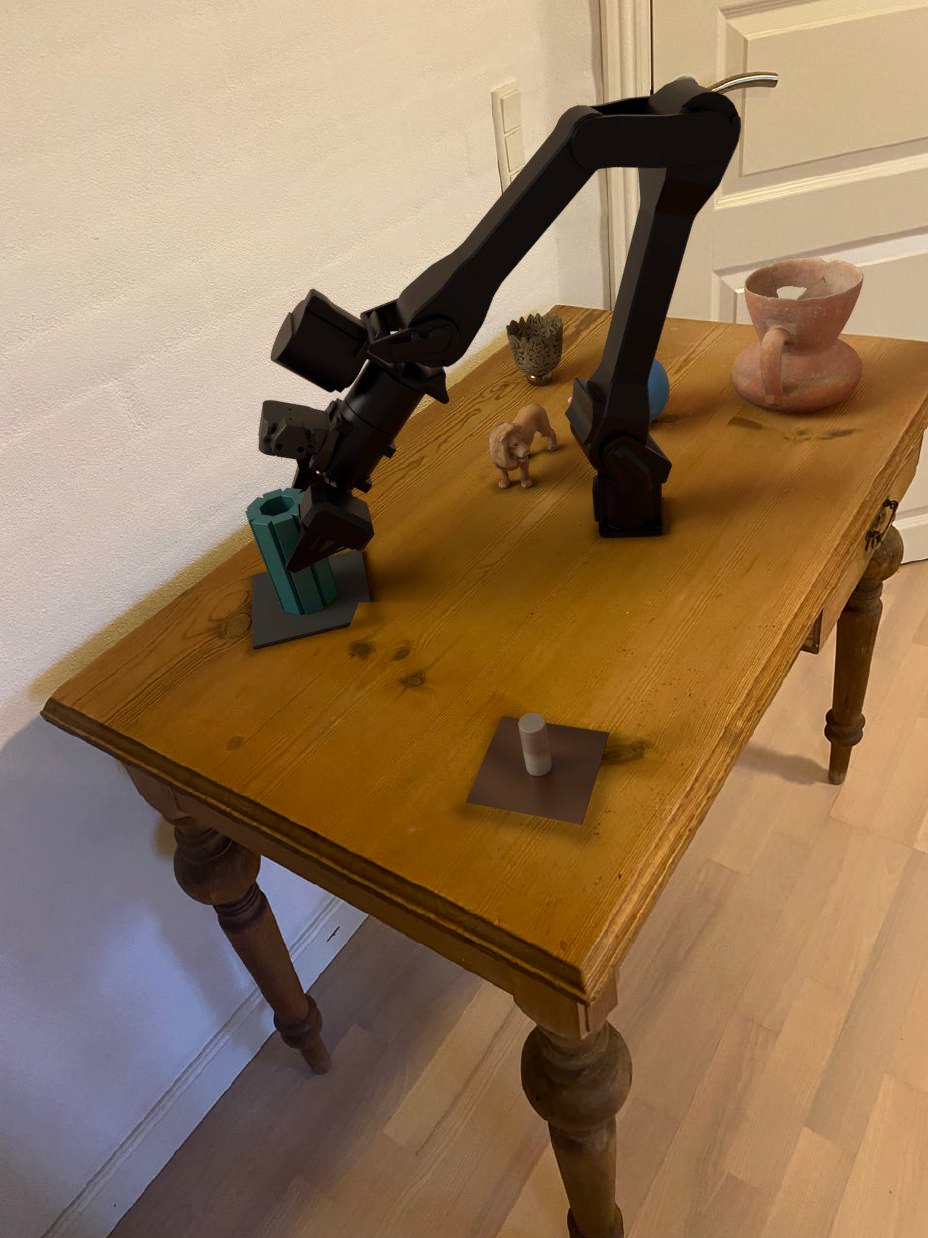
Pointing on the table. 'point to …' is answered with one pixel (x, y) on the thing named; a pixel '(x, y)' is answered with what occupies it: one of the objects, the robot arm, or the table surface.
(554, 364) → the cup
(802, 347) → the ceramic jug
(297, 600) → the sleeve
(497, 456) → the lion figurine
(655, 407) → the blue mole toy
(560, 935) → the table surface
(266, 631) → the mat
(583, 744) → the peg stand
